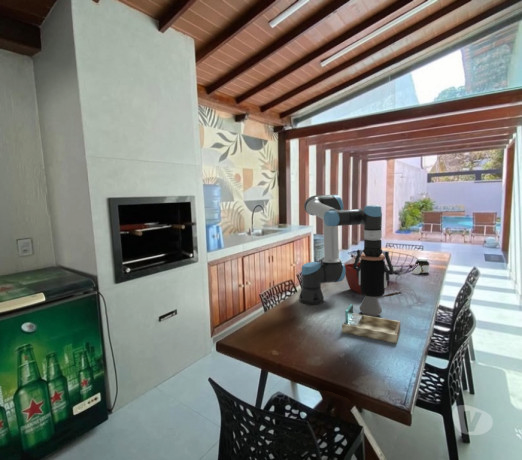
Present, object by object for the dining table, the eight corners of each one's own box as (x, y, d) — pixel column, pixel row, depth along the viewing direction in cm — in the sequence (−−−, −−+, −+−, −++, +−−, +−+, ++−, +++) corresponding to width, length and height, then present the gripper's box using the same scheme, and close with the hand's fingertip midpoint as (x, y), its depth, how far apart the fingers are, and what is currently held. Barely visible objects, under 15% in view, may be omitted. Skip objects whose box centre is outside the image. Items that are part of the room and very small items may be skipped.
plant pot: (385, 292, 195) (386, 267, 192) (361, 297, 188) (362, 271, 186) (365, 284, 212) (365, 261, 210) (342, 288, 205) (342, 264, 203)
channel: (342, 332, 144) (342, 324, 143) (349, 320, 157) (349, 312, 156) (396, 343, 132) (396, 335, 131) (400, 329, 145) (400, 321, 144)
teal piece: (343, 329, 145) (343, 311, 143) (350, 319, 155) (350, 302, 154) (356, 332, 142) (356, 314, 140) (362, 321, 152) (362, 304, 151)
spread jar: (429, 272, 236) (430, 257, 235) (428, 276, 227) (429, 261, 225) (412, 270, 243) (413, 256, 241) (411, 274, 233) (411, 259, 232)
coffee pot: (356, 315, 162) (357, 288, 160) (362, 308, 171) (363, 283, 169) (399, 324, 150) (400, 295, 148) (403, 316, 159) (404, 289, 157)
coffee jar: (387, 292, 141) (388, 255, 139) (379, 299, 133) (380, 259, 131) (365, 288, 148) (365, 253, 146) (356, 294, 140) (356, 256, 138)
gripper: (345, 239, 141) (345, 284, 143) (398, 241, 129) (398, 291, 131) (349, 236, 147) (350, 280, 150) (401, 238, 135) (400, 286, 138)
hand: (372, 285), depth 141 cm, fingers closed on coffee jar, 10 cm apart
